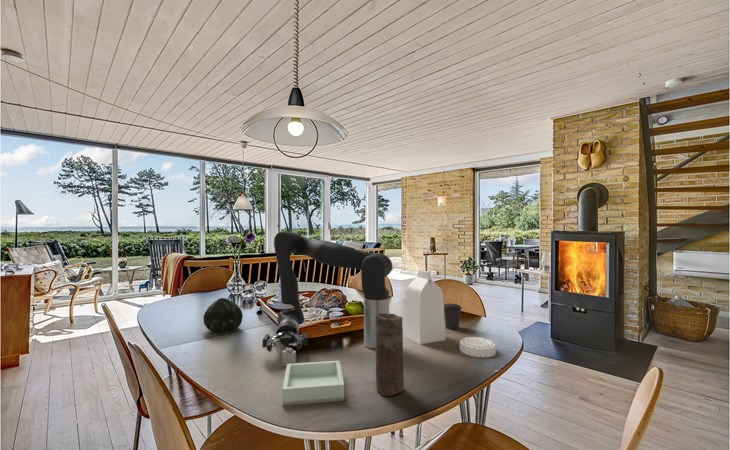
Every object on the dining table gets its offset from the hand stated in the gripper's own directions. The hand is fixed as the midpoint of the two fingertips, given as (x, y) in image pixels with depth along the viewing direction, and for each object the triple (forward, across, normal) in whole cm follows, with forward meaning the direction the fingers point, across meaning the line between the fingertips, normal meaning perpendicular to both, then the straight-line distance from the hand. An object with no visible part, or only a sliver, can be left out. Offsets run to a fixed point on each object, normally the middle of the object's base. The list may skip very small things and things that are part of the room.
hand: (283, 347), depth 103 cm
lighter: (-2, 0, +6) cm, 7 cm away
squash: (-41, -28, +6) cm, 50 cm away
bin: (+15, +9, +6) cm, 19 cm away
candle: (+19, +29, +6) cm, 35 cm away
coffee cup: (-30, +68, +6) cm, 75 cm away
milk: (-20, +52, +6) cm, 56 cm away
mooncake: (-4, +66, +6) cm, 66 cm away
